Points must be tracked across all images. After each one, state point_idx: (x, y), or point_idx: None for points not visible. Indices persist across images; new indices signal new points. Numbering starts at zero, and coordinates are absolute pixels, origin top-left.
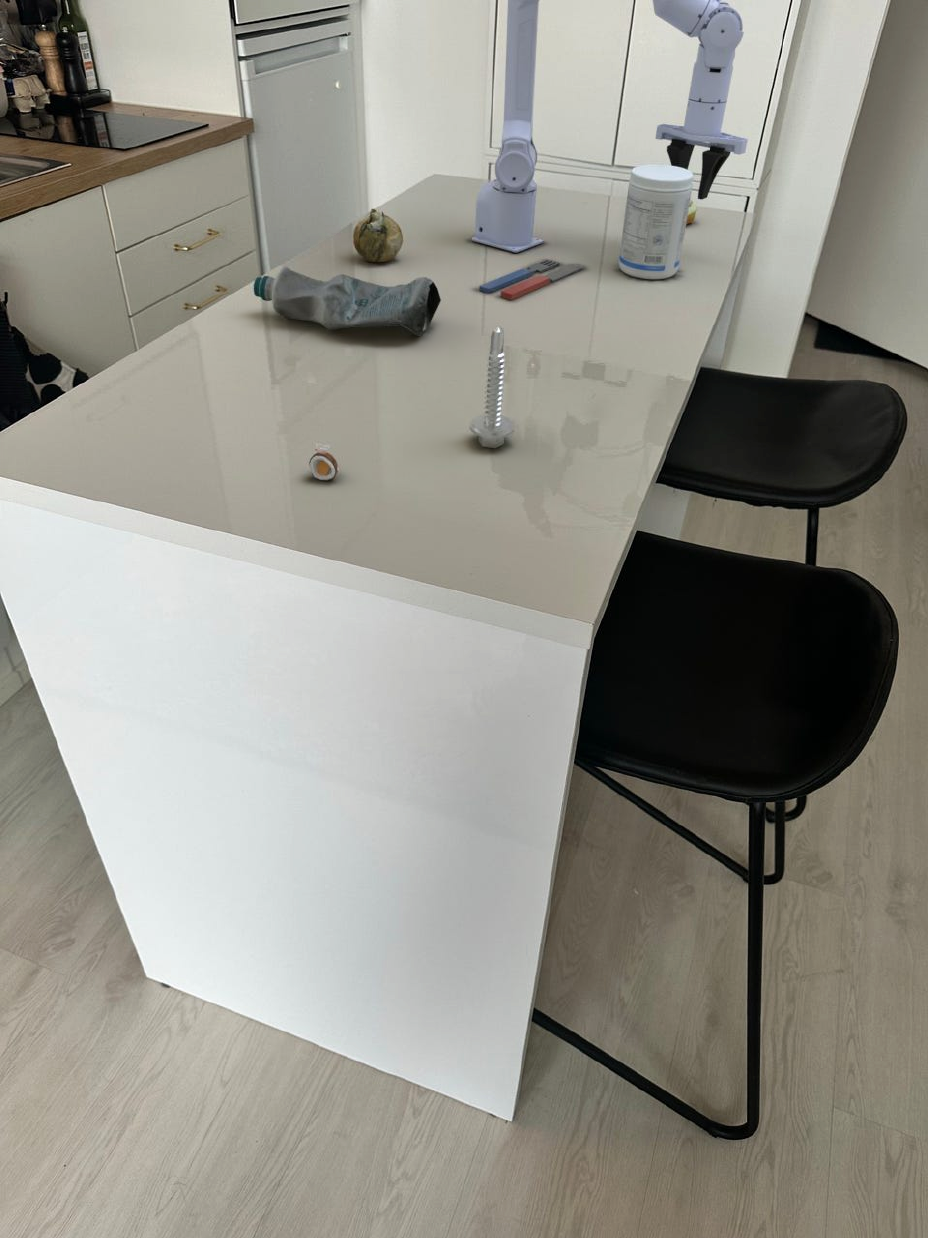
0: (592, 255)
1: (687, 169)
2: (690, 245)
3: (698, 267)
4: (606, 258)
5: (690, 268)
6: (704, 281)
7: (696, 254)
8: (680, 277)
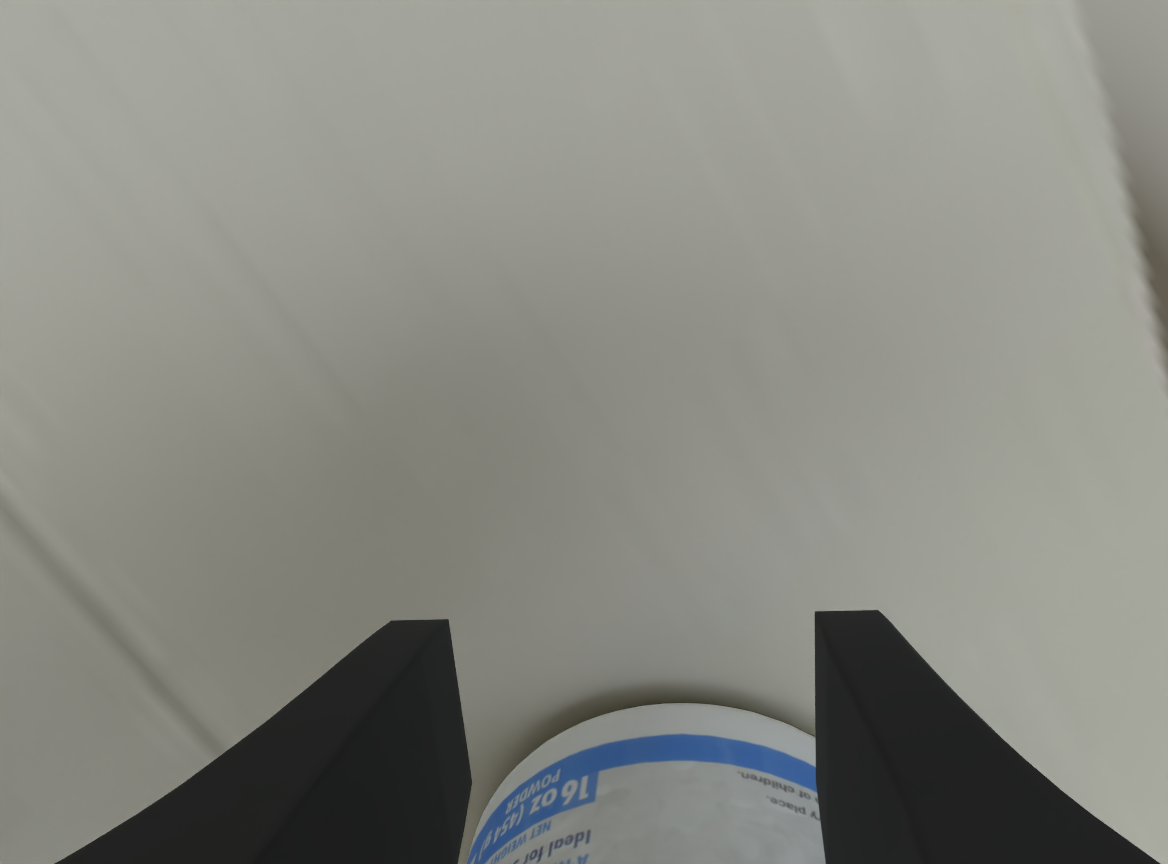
0: None
1: (319, 802)
2: (558, 24)
3: (943, 546)
4: None
5: (902, 612)
6: (1128, 784)
7: (754, 243)
8: None
